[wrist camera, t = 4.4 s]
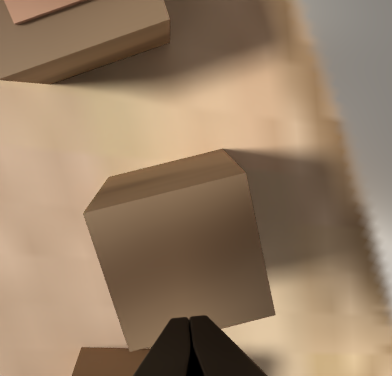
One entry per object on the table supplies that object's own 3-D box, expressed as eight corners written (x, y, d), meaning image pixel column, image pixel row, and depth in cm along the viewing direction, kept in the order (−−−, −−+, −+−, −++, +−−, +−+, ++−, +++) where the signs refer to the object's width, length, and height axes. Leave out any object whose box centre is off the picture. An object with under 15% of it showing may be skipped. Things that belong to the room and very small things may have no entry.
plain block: (245, 252, 17) (275, 315, 12) (140, 278, 17) (129, 351, 12) (222, 148, 16) (245, 172, 11) (109, 176, 16) (82, 213, 11)
